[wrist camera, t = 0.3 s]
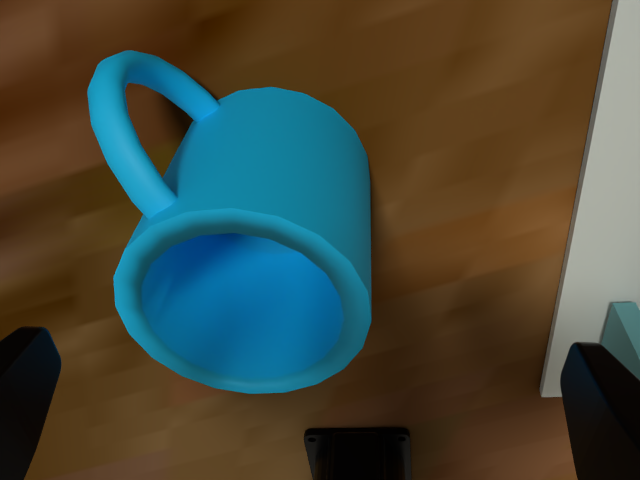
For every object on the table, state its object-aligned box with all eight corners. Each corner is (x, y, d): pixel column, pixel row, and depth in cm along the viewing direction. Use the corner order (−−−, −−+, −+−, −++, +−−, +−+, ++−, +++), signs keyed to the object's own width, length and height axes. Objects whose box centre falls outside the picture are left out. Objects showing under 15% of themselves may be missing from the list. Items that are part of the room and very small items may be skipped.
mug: (406, 201, 25) (419, 343, 18) (260, 275, 28) (228, 418, 22) (226, -50, 19) (155, 30, 13) (69, 80, 22) (-51, 195, 16)
